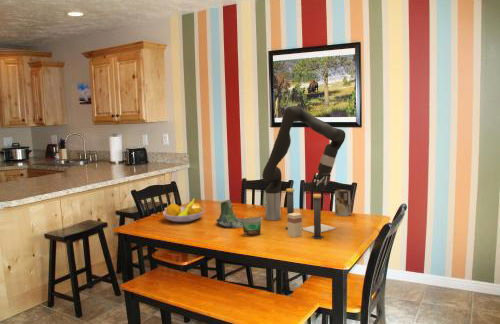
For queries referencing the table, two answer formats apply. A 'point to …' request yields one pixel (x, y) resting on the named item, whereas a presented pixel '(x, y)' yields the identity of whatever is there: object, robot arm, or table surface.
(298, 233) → the carton
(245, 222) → the food container
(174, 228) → the table surface
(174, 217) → the fruit bowl
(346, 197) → the coffee box
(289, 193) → the gate
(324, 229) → the mat
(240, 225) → the tree stump
